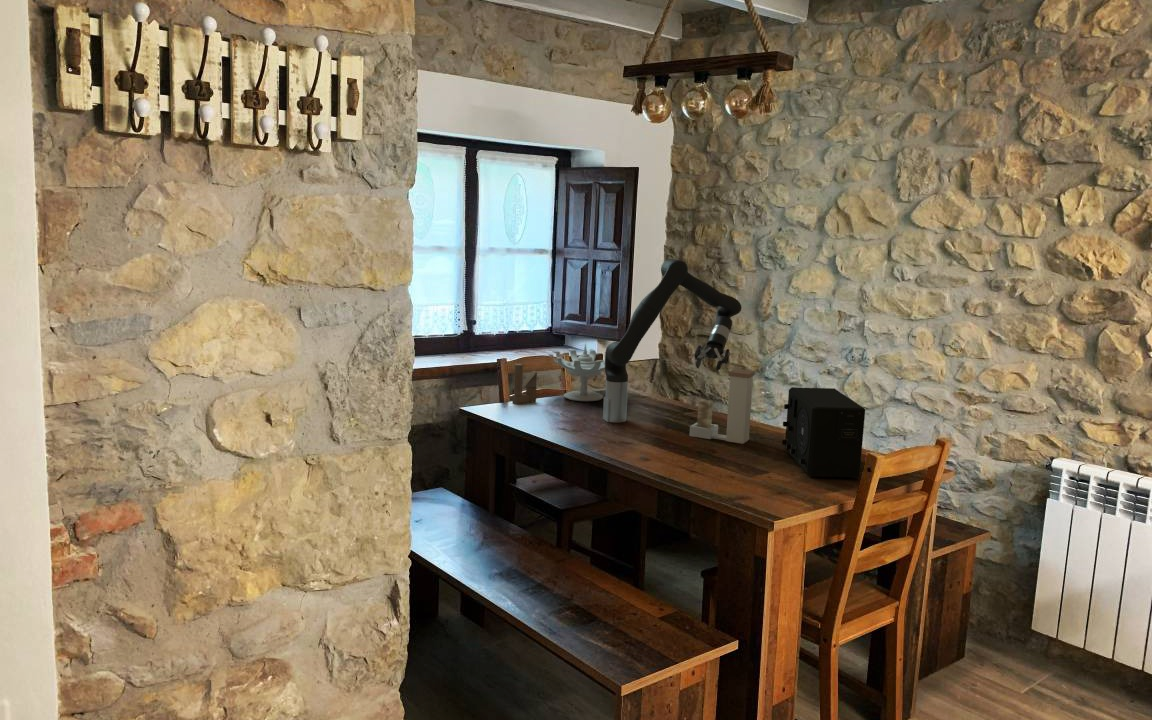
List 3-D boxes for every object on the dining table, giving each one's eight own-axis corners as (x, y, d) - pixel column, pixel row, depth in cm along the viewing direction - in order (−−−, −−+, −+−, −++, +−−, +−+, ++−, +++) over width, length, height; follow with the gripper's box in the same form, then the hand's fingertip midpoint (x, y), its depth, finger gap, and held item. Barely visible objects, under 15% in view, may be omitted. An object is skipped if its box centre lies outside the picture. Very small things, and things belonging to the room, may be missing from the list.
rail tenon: (696, 435, 356) (698, 401, 353) (700, 433, 360) (702, 399, 357) (707, 437, 354) (709, 402, 351) (710, 435, 358) (712, 400, 355)
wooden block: (536, 402, 408) (537, 363, 405) (516, 404, 401) (517, 365, 398) (531, 400, 411) (532, 362, 408) (512, 403, 404) (512, 364, 401)
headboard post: (689, 435, 355) (693, 367, 350) (697, 431, 362) (701, 364, 358) (743, 444, 344) (748, 374, 340) (750, 439, 352) (755, 371, 347)
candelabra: (629, 405, 407) (631, 346, 402) (554, 406, 399) (555, 346, 395) (610, 390, 440) (612, 336, 435) (540, 391, 432) (542, 336, 427)
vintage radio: (777, 450, 338) (781, 385, 334) (828, 451, 338) (833, 387, 334) (802, 479, 301) (808, 407, 297) (860, 481, 301) (866, 409, 297)
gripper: (700, 330, 376) (689, 360, 368) (733, 334, 369) (721, 365, 361) (704, 341, 381) (692, 371, 373) (736, 345, 375) (725, 376, 367)
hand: (707, 368), depth 367 cm, fingers open, 8 cm apart
